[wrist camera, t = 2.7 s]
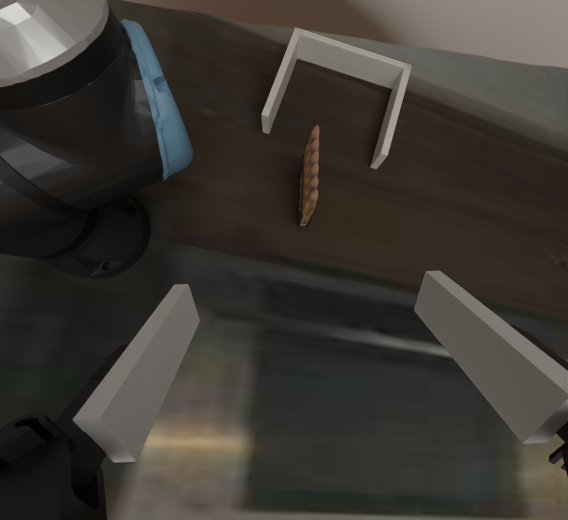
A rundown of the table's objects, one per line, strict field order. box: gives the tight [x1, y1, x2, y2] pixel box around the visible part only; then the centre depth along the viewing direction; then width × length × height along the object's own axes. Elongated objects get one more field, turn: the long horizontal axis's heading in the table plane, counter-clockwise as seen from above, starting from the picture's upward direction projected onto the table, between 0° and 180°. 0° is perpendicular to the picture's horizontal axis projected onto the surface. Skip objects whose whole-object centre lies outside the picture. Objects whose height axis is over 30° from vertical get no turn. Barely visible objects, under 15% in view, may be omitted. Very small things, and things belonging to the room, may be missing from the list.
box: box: [261, 28, 412, 169], centre depth 40 cm, size 22×19×4 cm
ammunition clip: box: [298, 125, 319, 227], centre depth 33 cm, size 11×2×12 cm, turn 178°
